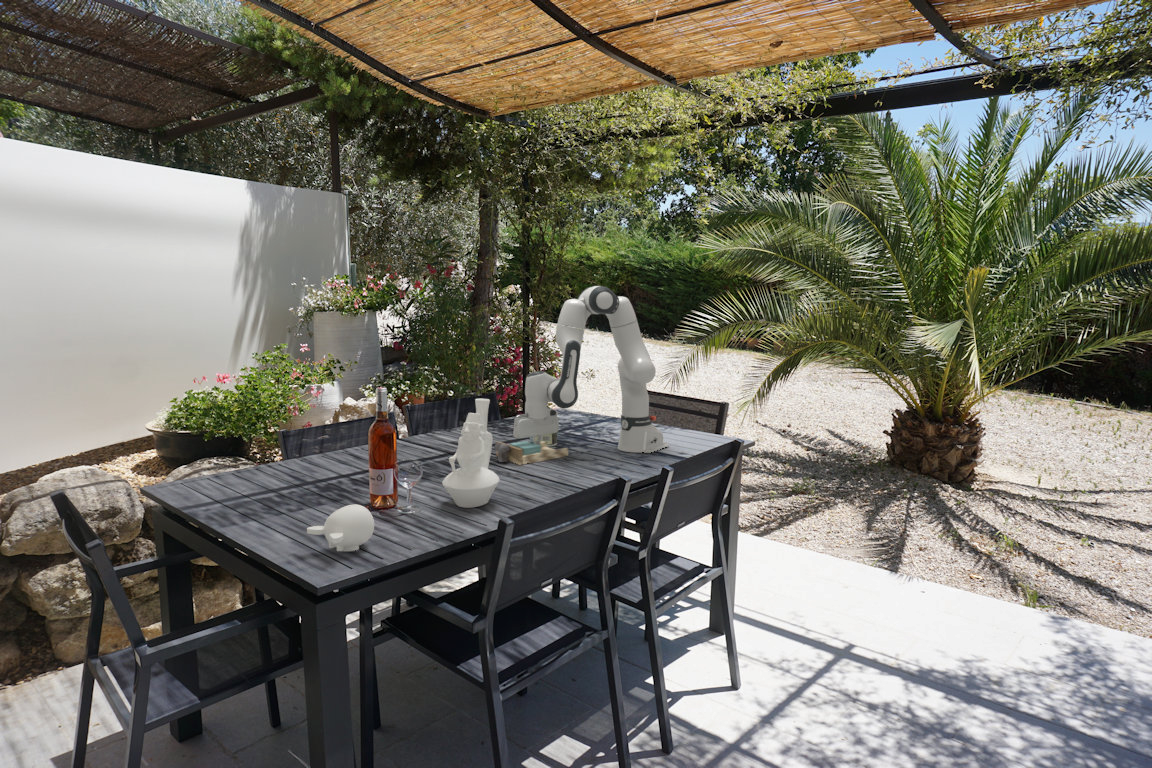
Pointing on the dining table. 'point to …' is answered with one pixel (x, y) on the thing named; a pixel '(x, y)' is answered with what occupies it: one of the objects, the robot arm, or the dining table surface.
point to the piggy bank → (346, 528)
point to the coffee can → (549, 439)
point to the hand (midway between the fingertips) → (536, 446)
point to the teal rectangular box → (527, 447)
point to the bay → (517, 457)
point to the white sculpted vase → (473, 461)
